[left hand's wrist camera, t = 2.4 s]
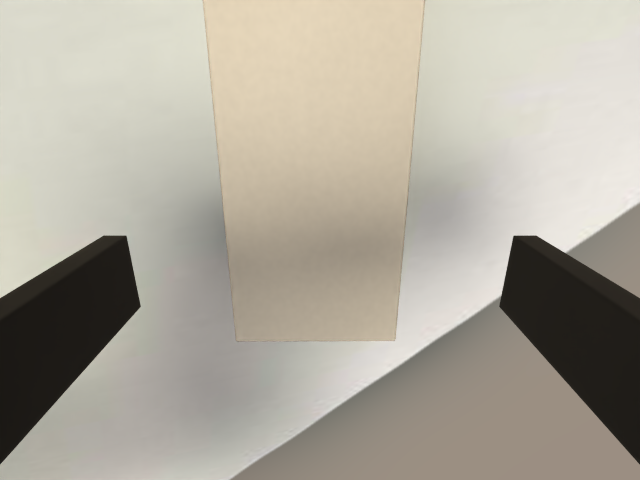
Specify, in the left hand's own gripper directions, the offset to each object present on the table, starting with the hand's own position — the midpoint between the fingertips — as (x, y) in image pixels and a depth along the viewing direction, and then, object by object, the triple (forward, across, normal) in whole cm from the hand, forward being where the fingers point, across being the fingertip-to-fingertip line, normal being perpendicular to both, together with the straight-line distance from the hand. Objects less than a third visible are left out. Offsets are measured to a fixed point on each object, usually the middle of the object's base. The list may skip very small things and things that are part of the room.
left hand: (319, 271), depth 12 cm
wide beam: (+13, 0, -23) cm, 26 cm away
